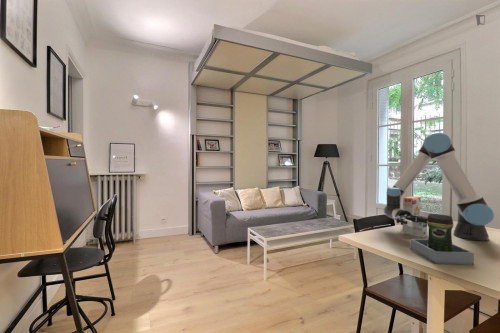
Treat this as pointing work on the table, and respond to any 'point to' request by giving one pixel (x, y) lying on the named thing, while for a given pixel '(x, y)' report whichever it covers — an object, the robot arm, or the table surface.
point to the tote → (442, 253)
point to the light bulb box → (416, 229)
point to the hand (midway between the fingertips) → (426, 224)
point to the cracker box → (412, 205)
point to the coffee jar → (440, 232)
